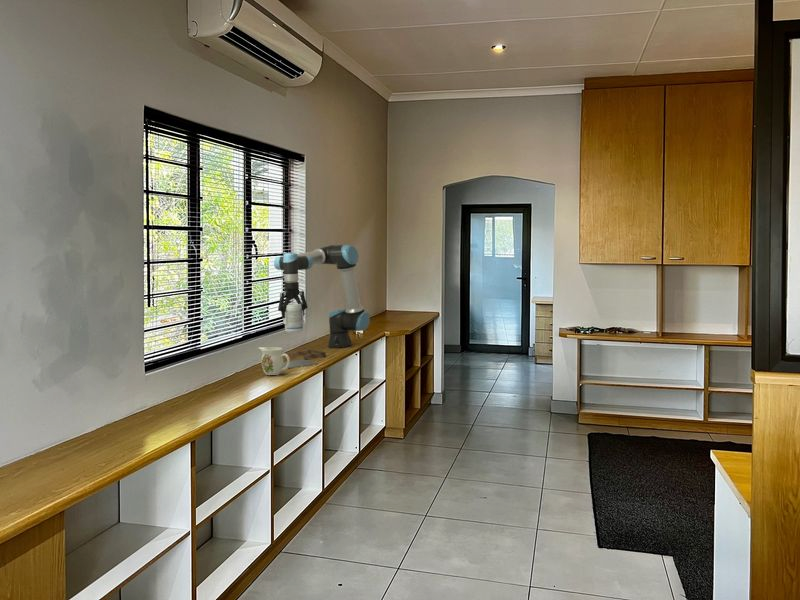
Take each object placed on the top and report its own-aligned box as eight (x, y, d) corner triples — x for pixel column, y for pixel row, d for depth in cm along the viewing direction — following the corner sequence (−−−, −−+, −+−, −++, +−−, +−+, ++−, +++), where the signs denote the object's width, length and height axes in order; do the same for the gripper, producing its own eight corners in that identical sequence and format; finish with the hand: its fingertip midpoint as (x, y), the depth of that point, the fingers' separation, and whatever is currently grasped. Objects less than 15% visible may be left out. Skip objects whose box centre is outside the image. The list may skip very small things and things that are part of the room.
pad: (302, 359, 390) (302, 359, 390) (318, 363, 376) (318, 363, 376) (273, 364, 379) (273, 363, 379) (289, 368, 365) (289, 367, 365)
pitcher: (284, 377, 341) (283, 350, 340) (253, 376, 348) (252, 349, 347) (295, 373, 352) (294, 346, 350) (265, 372, 358) (264, 345, 357)
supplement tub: (306, 331, 374) (304, 304, 373) (290, 333, 369) (288, 305, 368) (297, 329, 382) (296, 303, 381) (282, 331, 377) (280, 304, 376)
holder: (312, 353, 411) (311, 349, 410) (325, 356, 398) (325, 352, 398) (291, 356, 402) (291, 352, 402) (304, 359, 390) (304, 355, 390)
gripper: (306, 280, 383) (308, 320, 385) (269, 283, 369) (272, 324, 372) (312, 280, 377) (314, 321, 379) (276, 283, 364) (278, 325, 366)
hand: (293, 322), depth 375 cm, fingers closed on supplement tub, 9 cm apart
